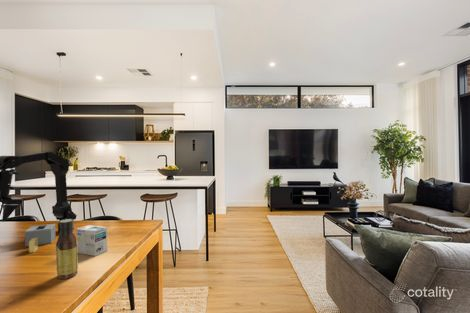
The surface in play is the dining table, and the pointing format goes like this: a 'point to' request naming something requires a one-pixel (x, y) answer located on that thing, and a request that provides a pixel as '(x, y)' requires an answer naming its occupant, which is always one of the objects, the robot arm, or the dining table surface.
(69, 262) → the sauce bottle
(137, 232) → the dining table surface
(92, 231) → the light bulb box
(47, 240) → the coin box
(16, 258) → the dining table surface
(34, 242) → the block
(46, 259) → the dining table surface
